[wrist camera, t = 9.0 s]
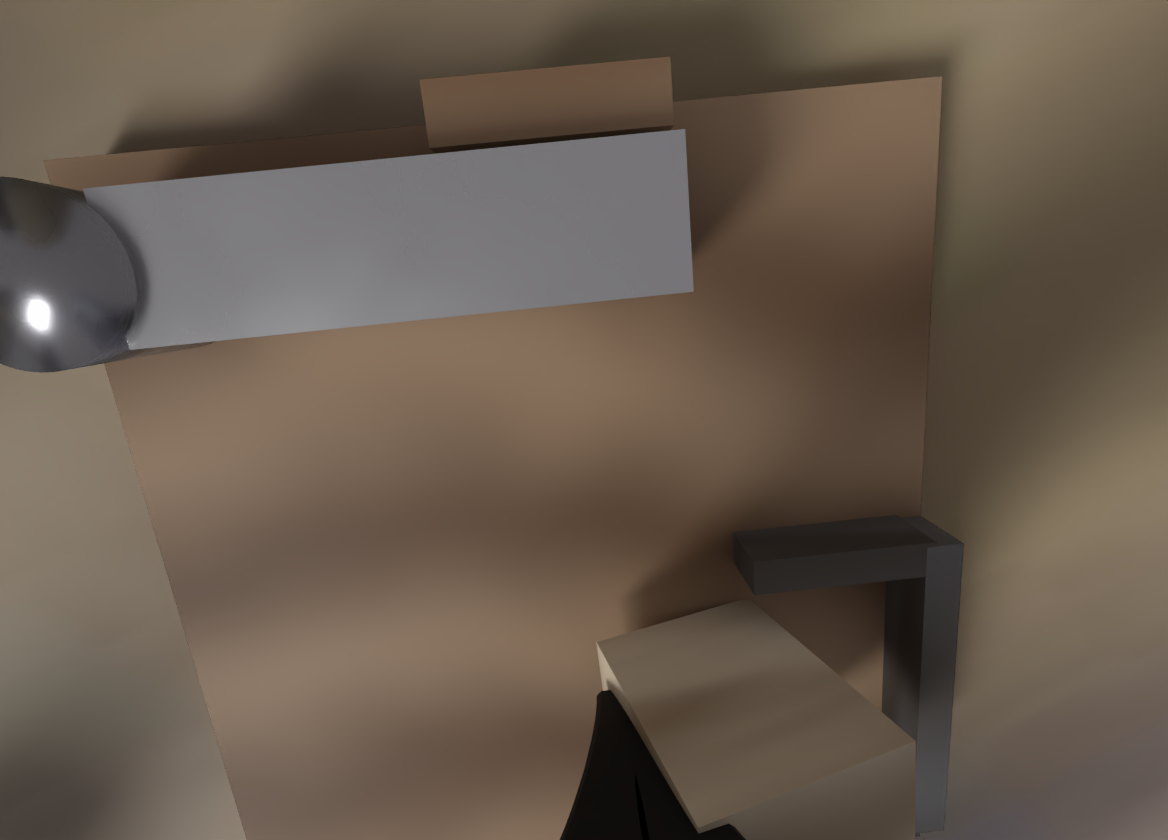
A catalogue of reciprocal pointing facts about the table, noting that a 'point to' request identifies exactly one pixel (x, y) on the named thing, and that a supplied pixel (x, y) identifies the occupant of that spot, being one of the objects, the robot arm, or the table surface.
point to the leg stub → (761, 730)
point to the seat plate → (558, 466)
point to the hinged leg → (337, 246)
